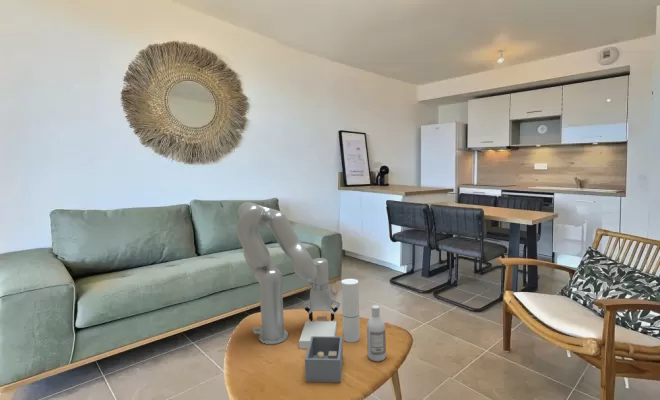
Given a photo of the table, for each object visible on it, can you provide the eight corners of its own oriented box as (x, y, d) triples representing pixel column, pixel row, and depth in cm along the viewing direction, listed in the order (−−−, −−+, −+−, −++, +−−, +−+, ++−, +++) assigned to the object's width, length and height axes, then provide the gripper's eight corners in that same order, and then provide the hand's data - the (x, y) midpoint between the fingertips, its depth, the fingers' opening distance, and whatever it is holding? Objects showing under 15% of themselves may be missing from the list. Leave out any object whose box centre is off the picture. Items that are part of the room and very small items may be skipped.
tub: (340, 382, 116) (339, 360, 115) (305, 381, 117) (304, 359, 116) (342, 356, 131) (342, 336, 131) (312, 355, 133) (311, 336, 132)
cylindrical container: (359, 334, 148) (358, 278, 146) (359, 342, 141) (358, 284, 139) (343, 334, 149) (341, 278, 147) (342, 342, 142) (340, 284, 139)
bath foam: (389, 358, 129) (388, 307, 127) (374, 363, 126) (372, 312, 124) (379, 350, 135) (378, 301, 133) (364, 354, 132) (362, 305, 130)
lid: (333, 349, 137) (333, 341, 137) (299, 348, 138) (299, 341, 138) (337, 322, 160) (337, 316, 159) (307, 322, 161) (307, 316, 161)
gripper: (300, 288, 153) (302, 324, 155) (338, 288, 152) (339, 324, 154) (303, 282, 161) (304, 317, 163) (339, 282, 159) (340, 317, 161)
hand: (321, 321), depth 158 cm, fingers open, 9 cm apart
